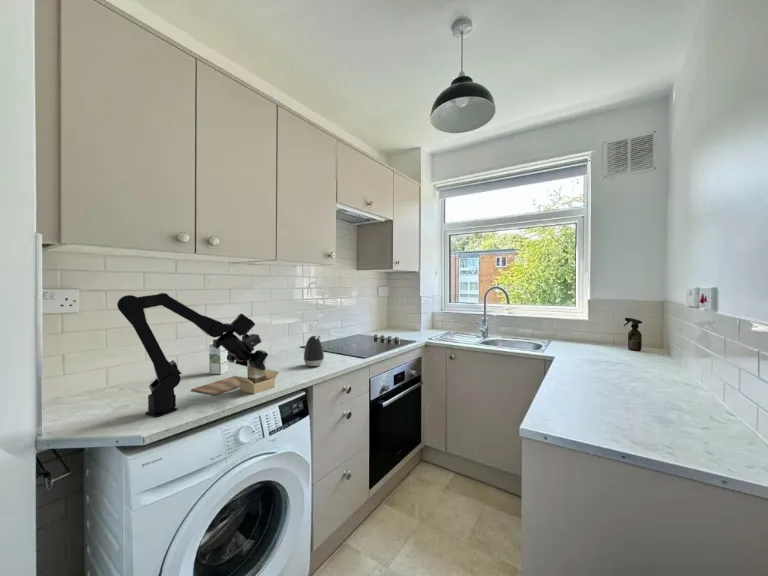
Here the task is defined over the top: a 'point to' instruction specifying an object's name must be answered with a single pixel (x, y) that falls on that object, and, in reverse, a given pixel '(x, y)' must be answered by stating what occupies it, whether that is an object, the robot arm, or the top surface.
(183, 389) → the top surface
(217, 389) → the walnut board
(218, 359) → the syrup box
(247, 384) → the carton
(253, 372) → the tall box
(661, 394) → the top surface
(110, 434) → the top surface
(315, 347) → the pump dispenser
